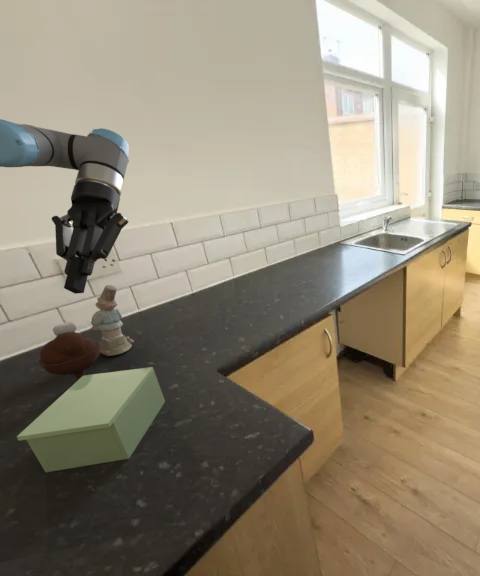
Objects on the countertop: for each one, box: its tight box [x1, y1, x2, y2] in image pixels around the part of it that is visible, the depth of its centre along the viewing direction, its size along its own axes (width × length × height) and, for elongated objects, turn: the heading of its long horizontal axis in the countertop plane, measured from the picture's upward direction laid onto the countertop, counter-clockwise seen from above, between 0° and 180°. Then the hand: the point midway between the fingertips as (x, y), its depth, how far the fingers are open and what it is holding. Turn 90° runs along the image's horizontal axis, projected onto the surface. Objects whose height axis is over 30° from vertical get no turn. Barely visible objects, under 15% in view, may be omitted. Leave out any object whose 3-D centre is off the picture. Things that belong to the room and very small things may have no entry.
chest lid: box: [16, 366, 155, 441], centre depth 62 cm, size 17×14×1 cm
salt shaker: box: [52, 321, 77, 337], centre depth 86 cm, size 6×6×13 cm
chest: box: [25, 370, 166, 473], centre depth 64 cm, size 16×14×9 cm
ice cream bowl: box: [37, 331, 101, 388], centre depth 78 cm, size 11×11×15 cm
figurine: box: [90, 284, 135, 357], centre depth 92 cm, size 9×8×20 cm
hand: (73, 290), depth 60 cm, fingers closed
